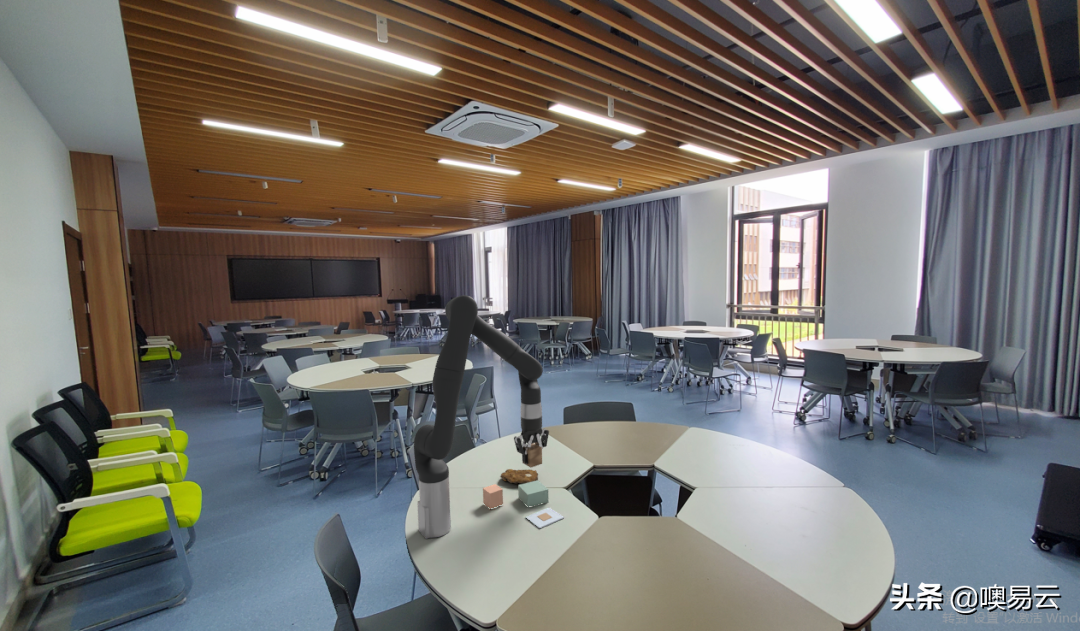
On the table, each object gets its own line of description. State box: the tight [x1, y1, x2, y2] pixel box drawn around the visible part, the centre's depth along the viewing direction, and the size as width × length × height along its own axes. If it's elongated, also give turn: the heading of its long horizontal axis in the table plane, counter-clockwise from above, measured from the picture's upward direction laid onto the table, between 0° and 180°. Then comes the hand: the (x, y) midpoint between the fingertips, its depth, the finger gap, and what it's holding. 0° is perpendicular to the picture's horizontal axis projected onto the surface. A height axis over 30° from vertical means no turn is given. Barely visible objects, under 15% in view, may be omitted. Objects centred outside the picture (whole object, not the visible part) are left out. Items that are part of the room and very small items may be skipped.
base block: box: [517, 479, 549, 507], centre depth 155 cm, size 8×8×5 cm
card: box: [524, 506, 565, 529], centre depth 143 cm, size 10×8×1 cm
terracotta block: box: [482, 483, 504, 510], centre depth 152 cm, size 5×5×6 cm
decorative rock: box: [499, 468, 539, 485], centre depth 170 cm, size 11×4×15 cm
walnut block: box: [522, 443, 543, 469], centre depth 154 cm, size 5×5×6 cm
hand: (532, 461), depth 154 cm, fingers closed on walnut block, 5 cm apart
